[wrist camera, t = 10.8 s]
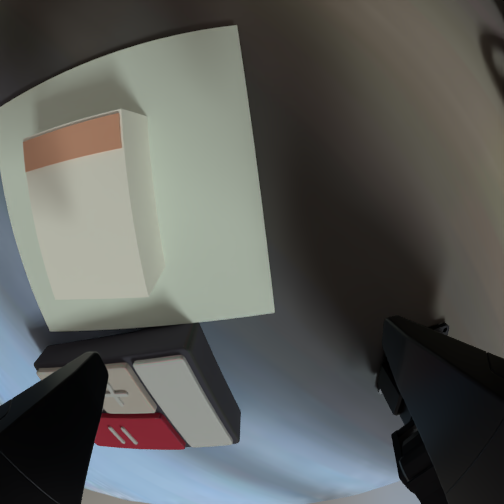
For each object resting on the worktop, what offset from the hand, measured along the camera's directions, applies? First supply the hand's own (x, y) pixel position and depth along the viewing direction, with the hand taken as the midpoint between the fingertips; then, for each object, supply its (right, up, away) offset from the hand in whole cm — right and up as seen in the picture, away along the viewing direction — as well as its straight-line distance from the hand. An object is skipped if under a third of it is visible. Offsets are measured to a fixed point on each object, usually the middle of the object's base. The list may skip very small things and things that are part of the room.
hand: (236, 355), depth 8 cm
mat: (-8, +6, +8) cm, 13 cm away
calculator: (-9, -8, +14) cm, 19 cm away
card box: (-8, +6, +8) cm, 13 cm away
